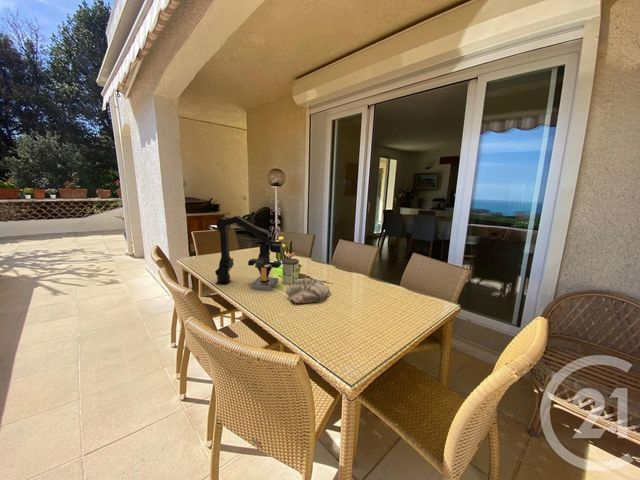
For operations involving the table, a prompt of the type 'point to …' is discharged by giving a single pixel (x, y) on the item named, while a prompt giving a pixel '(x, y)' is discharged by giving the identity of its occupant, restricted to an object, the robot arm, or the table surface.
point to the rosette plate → (264, 284)
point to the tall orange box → (264, 273)
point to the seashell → (307, 291)
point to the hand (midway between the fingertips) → (264, 276)
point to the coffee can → (290, 271)
